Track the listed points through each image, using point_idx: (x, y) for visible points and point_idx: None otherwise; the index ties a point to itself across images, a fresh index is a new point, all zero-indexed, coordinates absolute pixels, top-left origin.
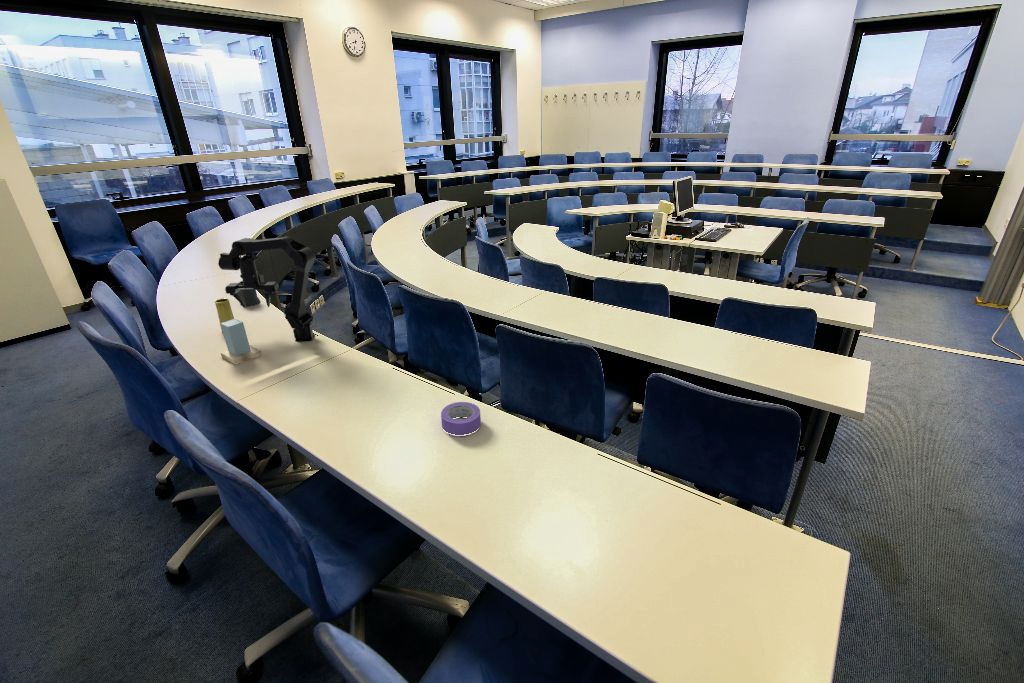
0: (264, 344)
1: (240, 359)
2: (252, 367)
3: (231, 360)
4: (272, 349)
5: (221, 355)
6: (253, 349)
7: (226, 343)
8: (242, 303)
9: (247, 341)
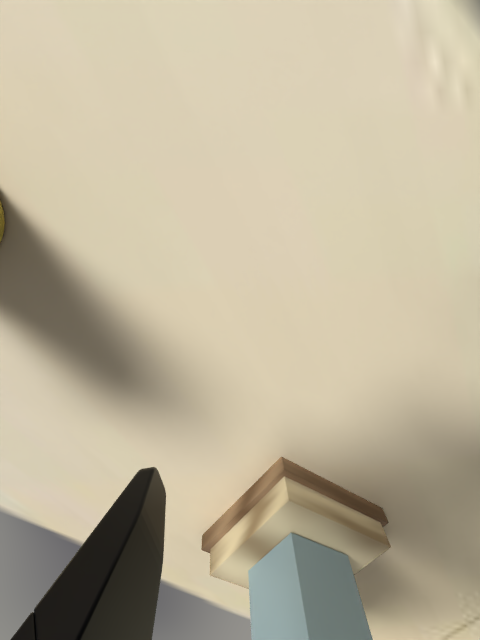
0: (330, 394)
1: None
2: None
3: None
4: (396, 440)
5: (212, 561)
6: (353, 542)
7: (254, 632)
8: (150, 615)
9: (363, 620)
